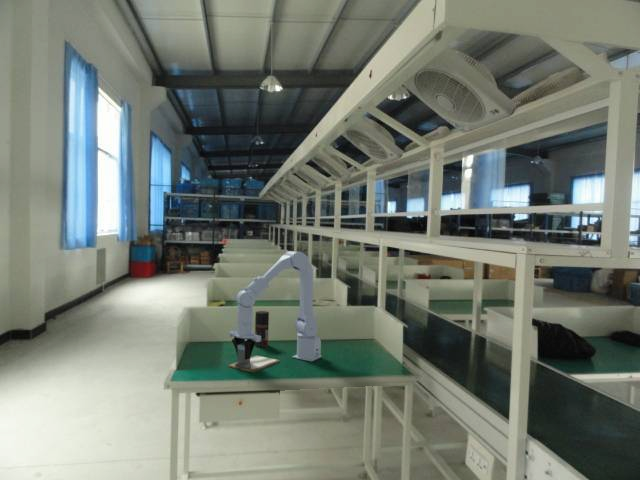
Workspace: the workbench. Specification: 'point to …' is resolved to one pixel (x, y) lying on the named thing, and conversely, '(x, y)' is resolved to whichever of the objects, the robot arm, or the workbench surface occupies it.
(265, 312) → the deodorant
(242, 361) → the block
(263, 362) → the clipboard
